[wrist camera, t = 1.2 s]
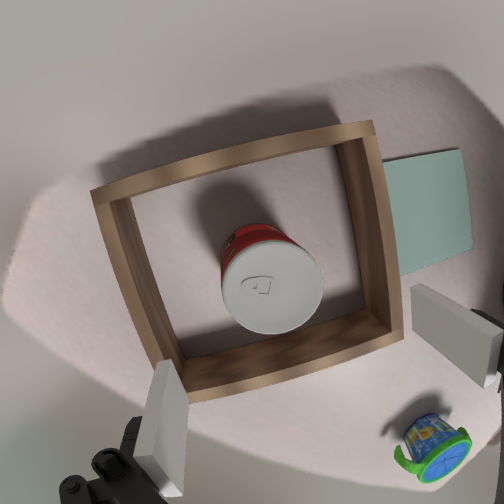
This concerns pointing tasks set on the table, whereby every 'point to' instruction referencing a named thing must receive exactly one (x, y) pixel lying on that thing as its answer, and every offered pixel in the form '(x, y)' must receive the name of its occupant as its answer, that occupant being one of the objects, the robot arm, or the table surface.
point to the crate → (285, 346)
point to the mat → (429, 208)
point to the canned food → (268, 280)
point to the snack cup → (433, 448)
